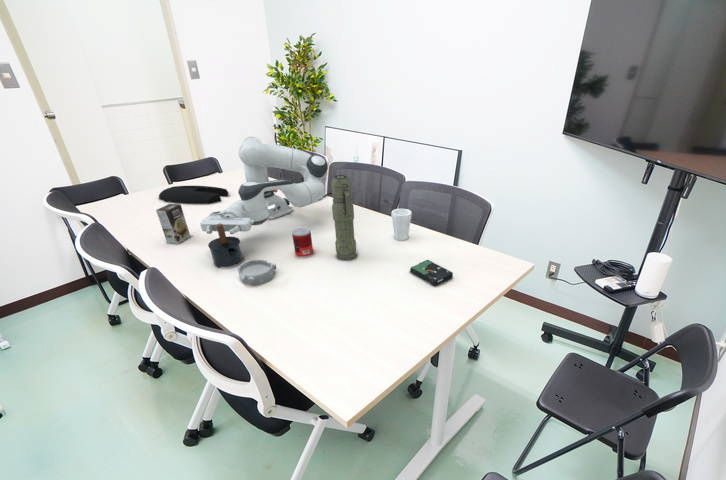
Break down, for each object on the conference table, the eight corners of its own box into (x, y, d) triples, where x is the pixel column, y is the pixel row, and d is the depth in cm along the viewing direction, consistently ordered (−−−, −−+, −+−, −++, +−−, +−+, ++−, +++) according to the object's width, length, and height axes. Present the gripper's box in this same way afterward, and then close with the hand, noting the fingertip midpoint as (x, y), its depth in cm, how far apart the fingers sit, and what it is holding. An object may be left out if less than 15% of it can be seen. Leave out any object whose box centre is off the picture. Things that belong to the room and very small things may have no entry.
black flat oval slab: (175, 188, 248) (172, 180, 245) (235, 192, 244) (233, 184, 241) (149, 202, 228) (146, 193, 225) (213, 206, 223) (211, 197, 220)
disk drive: (452, 278, 158) (427, 264, 167) (453, 272, 156) (427, 258, 165) (435, 287, 152) (409, 272, 161) (435, 281, 150) (409, 266, 159)
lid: (238, 236, 170) (233, 217, 165) (242, 248, 161) (237, 227, 156) (207, 242, 165) (201, 222, 160) (210, 254, 156) (204, 233, 151)
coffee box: (178, 244, 181) (167, 211, 172) (166, 243, 182) (154, 209, 173) (191, 236, 189) (181, 204, 180) (179, 235, 190) (169, 203, 181)
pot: (232, 251, 176) (227, 233, 171) (250, 263, 166) (246, 245, 162) (207, 259, 169) (201, 241, 164) (225, 273, 159) (220, 254, 155)
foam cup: (413, 235, 191) (414, 210, 184) (406, 243, 184) (406, 217, 177) (396, 232, 195) (396, 207, 187) (388, 239, 188) (388, 213, 180)
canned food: (316, 251, 176) (313, 228, 170) (307, 259, 170) (304, 235, 164) (301, 248, 178) (298, 226, 172) (292, 256, 172) (288, 233, 166)
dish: (255, 290, 149) (252, 279, 146) (231, 280, 155) (228, 269, 152) (283, 274, 159) (281, 263, 156) (260, 265, 165) (258, 254, 162)
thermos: (345, 263, 167) (339, 182, 147) (331, 254, 174) (322, 175, 155) (362, 257, 172) (358, 178, 152) (347, 248, 179) (341, 171, 160)
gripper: (257, 226, 173) (247, 239, 161) (210, 226, 172) (197, 239, 161) (254, 212, 169) (243, 225, 158) (207, 212, 169) (192, 225, 157)
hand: (219, 232), depth 159 cm, fingers open, 8 cm apart
